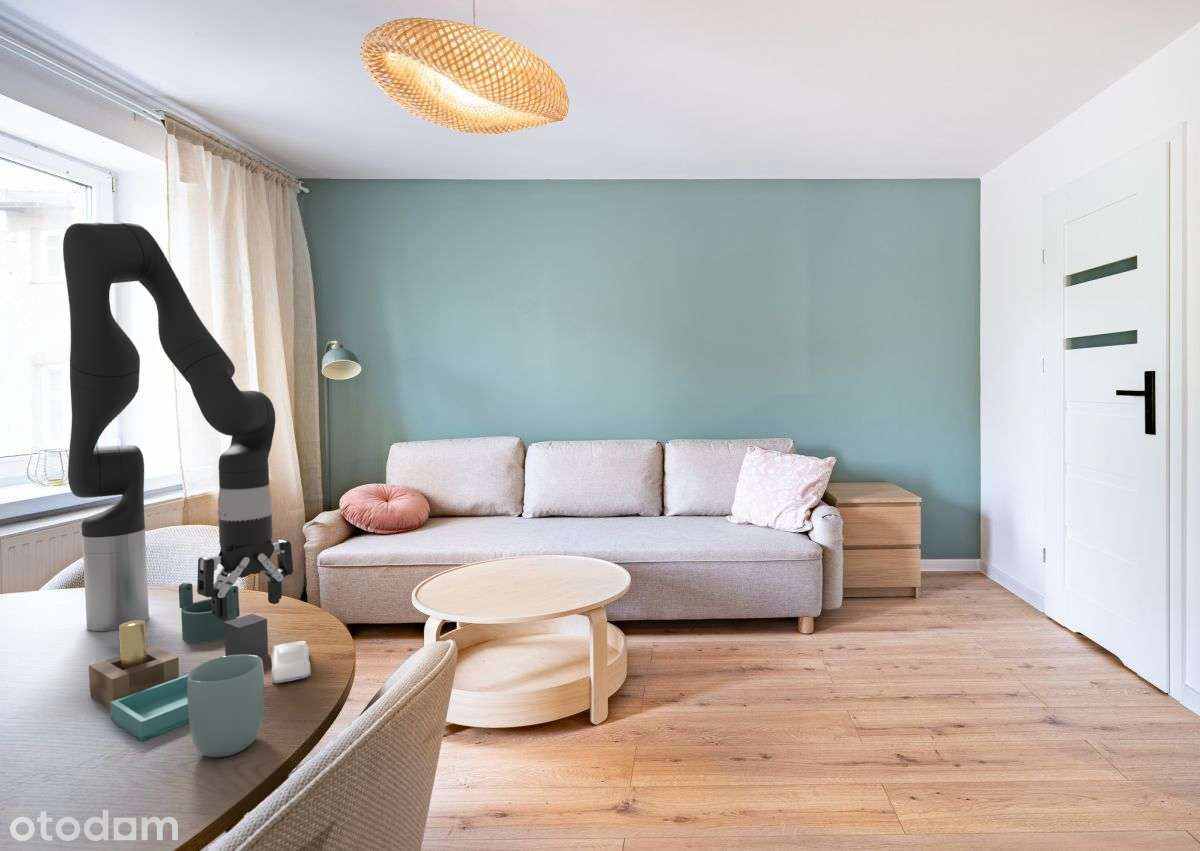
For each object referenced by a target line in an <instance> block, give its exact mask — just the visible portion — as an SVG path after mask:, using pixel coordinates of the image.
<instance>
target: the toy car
mask: <svg viewBox="0 0 1200 851" xmlns="http://www.w3.org/2000/svg"><path fill="white" fill-rule="evenodd" d="M309 653H310V648H309V646H308V644H307V641H305V640H299V641H298V640H297V641H291V642H288V643H282V644H278V645H273V647H272V648H271V653H270V660H271V662H270V663H271V670H270V671H271V683H272V684H281V683H287V682H291V681H296V680H301V679H304V678H308V677H310V676H311V675H312V674H311V673H312V671H311V662H310V659H309V658H310V657H309V656H310V655H309Z"/></svg>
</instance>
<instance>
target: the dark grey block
mask: <svg viewBox="0 0 1200 851" xmlns="http://www.w3.org/2000/svg"><path fill="white" fill-rule="evenodd" d="M224 632H225V637H224V650H225V652H224V654H225V655H224V656H229V655H239V654H249V655H256V656H259V657H260V658H262V657H265V656H267V655H269V639H268V637H269V636H268V634H269V633H268V618H266V617H263V616H260V615H257V614H255V613H250V614H246V615H244V616H243V615H242V616H239V617H237V618H236V619H233V620H230V621H226V622H224Z"/></svg>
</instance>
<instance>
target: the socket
mask: <svg viewBox="0 0 1200 851" xmlns="http://www.w3.org/2000/svg"><path fill="white" fill-rule="evenodd" d="M146 648H147V663H144V664H141V665H138V666H135V667H132V668H129V669H126V670H121V656H120V655H117V656H114V657H111V658H108V659H105V660H101V661H97V662H95V663H91V664H88V678H89V680H88V681H89V696H90V697H91V698H93V699H94V700H95V701H97V702H98V703H100V704H101V705H103V706H105V707H106V708H107V709H110V710H111V703H110V702H112V701H114V700H117V699H120V698H123V697H126V696H129V695H131V694H134V693H137V692H140V691H143V690H145V689H148V688H151V687H154V686H157V685H159V684H162V683H165V682H168V681H171V680H174V679H176V678H179V677H180V671H179V670H180V669H179V668H180V667H179V666H180V664H179V657H178V656H176V655H174V654H172V653H169V652H168V651H166V650H164V649H162V648H160V647H157V646H155V645H154V644H153V645H150V646H146Z"/></svg>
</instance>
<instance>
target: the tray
mask: <svg viewBox="0 0 1200 851" xmlns="http://www.w3.org/2000/svg"><path fill="white" fill-rule="evenodd" d="M188 675H189V673H188V674H184V675H183V676H179V678H176V679H174V680H171V681H168V682H165V683H162V684H159V685H157V686H154V687H151V688H148V689H145V690H143V691H140V692H137V693H134V694H131V695H129V696H126V697H123V698H120V699H117V700H114V701H112V702H110V703H111V709H110V718H111V719H110V720H111V722H113V723H114V724H116V725H117V726H119V727H120V728H122V729H123V730H125V731H126V732H127V733H129V734H130V735H132V736H134V737H135V738H136V739H138V740H140V742H145V741H147V740H150V739H152V738H154V737H156V736H160V735H161V734H164V733H166V732H169V731H172V730H173V729H176V728H178V727H181V726H183V725H186V724H187V723H188V724H189V718H188V703H187V678H188Z"/></svg>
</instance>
